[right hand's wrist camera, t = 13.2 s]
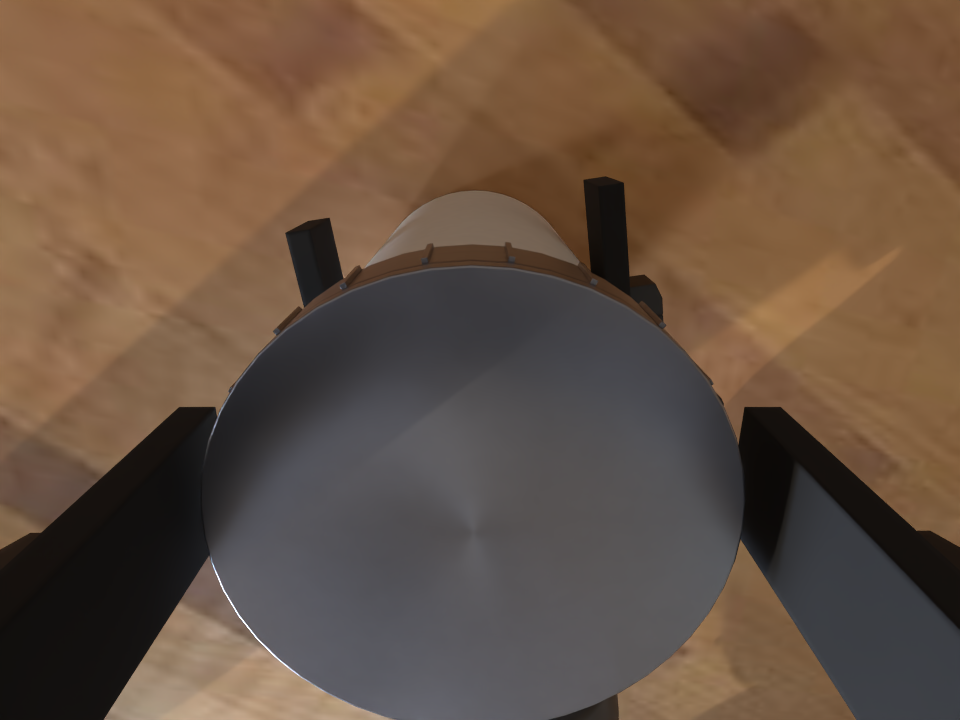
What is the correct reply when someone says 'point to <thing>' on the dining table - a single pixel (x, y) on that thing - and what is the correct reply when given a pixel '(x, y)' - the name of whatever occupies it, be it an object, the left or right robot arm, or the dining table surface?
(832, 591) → the right robot arm
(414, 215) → the jar
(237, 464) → the lid
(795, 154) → the dining table surface
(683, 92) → the dining table surface
